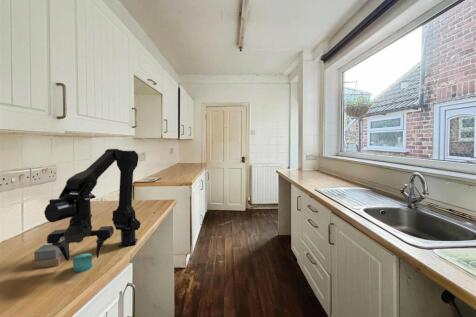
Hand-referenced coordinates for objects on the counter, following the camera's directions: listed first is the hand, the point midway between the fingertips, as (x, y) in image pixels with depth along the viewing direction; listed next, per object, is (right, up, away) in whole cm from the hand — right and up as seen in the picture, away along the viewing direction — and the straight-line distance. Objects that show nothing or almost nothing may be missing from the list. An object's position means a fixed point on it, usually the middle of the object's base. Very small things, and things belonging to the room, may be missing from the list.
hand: (82, 259), depth 87 cm
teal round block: (0, -3, 0) cm, 3 cm away
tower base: (-14, -4, +5) cm, 16 cm away
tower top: (-15, -1, +5) cm, 15 cm away
